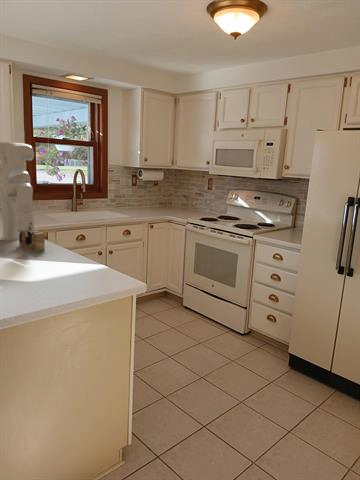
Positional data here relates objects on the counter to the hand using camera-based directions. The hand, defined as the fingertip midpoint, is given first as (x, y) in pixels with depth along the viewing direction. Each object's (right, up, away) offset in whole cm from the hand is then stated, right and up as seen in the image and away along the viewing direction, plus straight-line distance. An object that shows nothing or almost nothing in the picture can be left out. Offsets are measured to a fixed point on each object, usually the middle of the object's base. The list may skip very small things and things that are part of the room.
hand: (25, 242), depth 193 cm
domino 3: (0, -4, +12) cm, 13 cm away
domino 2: (0, -3, +1) cm, 4 cm away
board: (0, -4, +12) cm, 13 cm away
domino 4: (+4, -5, +9) cm, 11 cm away
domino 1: (-8, -2, +18) cm, 20 cm away
